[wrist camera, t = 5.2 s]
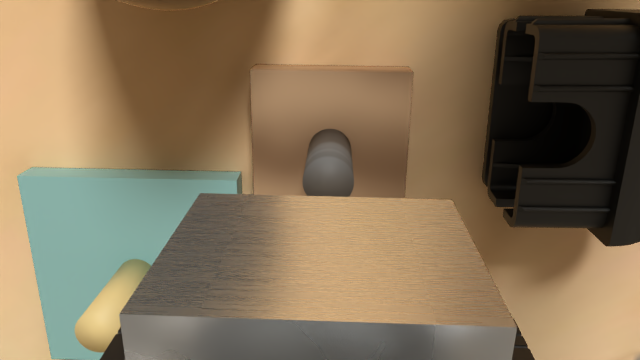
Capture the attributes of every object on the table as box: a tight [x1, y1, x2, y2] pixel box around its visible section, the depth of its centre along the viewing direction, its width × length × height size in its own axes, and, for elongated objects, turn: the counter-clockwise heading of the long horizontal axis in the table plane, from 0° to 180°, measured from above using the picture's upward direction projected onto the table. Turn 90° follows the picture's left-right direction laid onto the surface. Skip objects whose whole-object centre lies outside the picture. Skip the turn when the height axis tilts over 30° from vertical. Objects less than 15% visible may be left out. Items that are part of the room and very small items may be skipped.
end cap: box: [482, 9, 640, 246], centre depth 25 cm, size 10×7×7 cm
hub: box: [17, 167, 242, 360], centre depth 29 cm, size 12×12×7 cm
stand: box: [250, 64, 413, 198], centre depth 26 cm, size 8×8×7 cm
